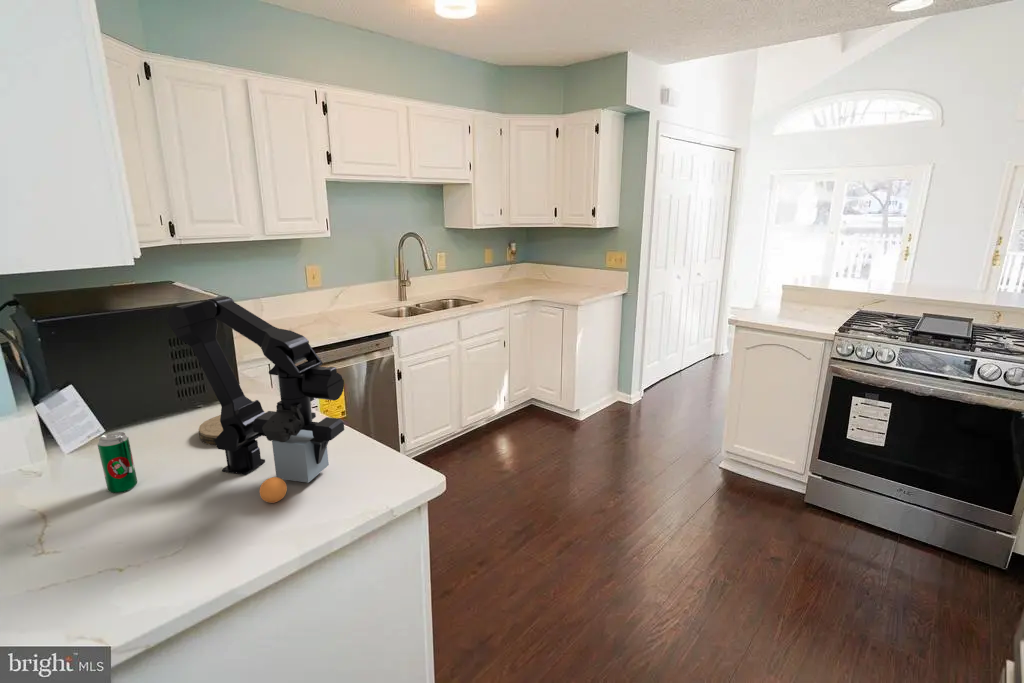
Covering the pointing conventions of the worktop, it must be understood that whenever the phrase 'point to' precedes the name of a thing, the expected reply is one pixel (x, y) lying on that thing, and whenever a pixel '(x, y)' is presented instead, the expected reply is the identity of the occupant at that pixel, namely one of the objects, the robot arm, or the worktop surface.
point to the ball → (273, 489)
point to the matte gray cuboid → (298, 458)
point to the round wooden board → (210, 430)
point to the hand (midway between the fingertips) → (302, 460)
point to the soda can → (117, 462)
